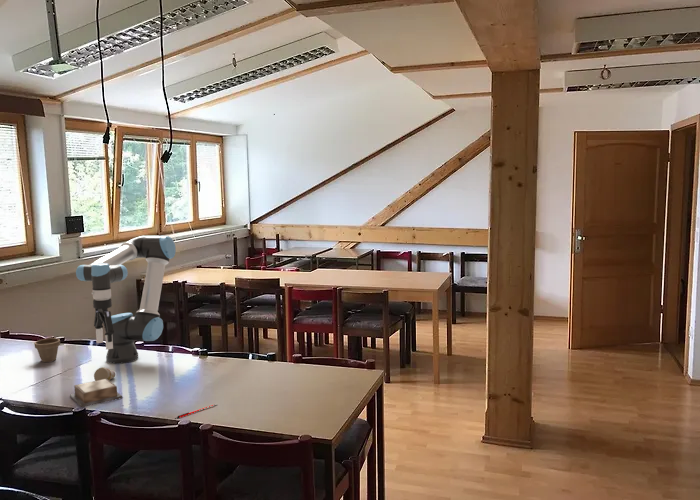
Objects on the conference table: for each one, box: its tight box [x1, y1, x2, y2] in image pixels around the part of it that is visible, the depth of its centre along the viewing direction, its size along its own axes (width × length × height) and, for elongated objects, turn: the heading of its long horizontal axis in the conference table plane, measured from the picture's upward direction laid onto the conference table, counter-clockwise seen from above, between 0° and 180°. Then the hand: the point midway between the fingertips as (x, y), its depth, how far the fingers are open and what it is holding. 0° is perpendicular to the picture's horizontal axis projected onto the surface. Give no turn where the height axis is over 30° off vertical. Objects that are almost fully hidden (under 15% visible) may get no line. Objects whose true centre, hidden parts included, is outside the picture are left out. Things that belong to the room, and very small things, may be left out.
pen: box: [174, 404, 214, 420], centre depth 229 cm, size 1×19×1 cm, turn 137°
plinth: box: [69, 379, 123, 408], centre depth 245 cm, size 16×16×5 cm
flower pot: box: [34, 337, 61, 363], centre depth 298 cm, size 12×11×10 cm
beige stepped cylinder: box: [93, 367, 117, 381], centre depth 266 cm, size 8×10×10 cm
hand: (104, 345), depth 264 cm, fingers open, 13 cm apart
